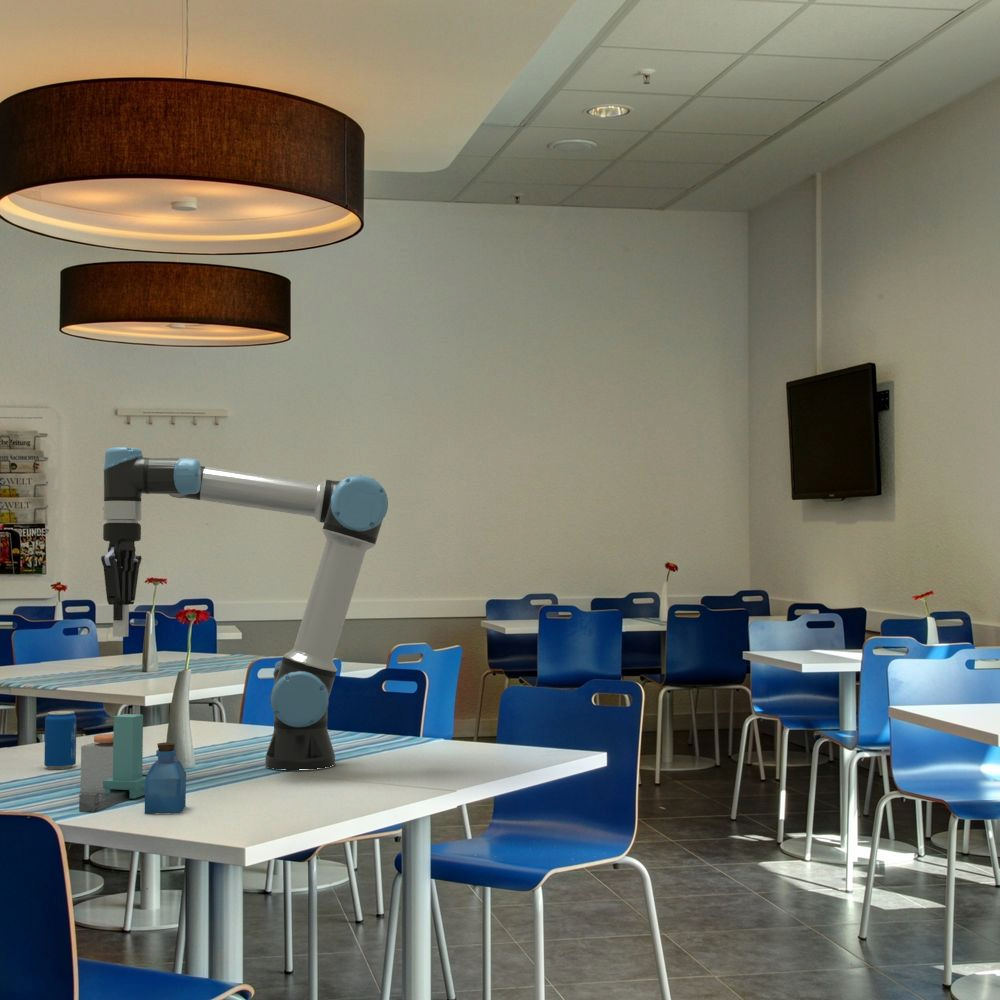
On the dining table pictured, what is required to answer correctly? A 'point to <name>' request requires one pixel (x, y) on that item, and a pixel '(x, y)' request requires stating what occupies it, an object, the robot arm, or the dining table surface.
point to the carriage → (127, 756)
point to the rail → (102, 799)
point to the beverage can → (60, 740)
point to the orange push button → (104, 739)
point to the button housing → (95, 767)
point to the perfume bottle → (165, 783)
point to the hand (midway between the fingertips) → (120, 636)
